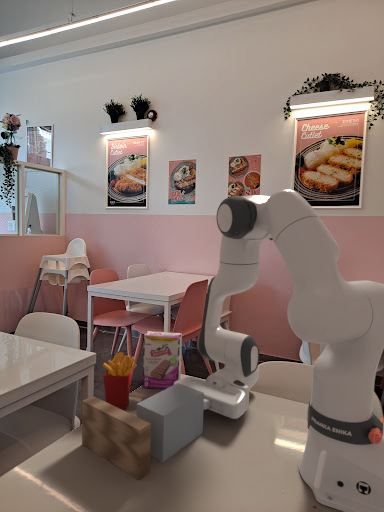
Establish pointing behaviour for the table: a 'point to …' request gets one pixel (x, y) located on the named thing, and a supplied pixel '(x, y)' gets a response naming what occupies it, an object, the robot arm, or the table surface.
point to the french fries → (118, 380)
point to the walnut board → (116, 436)
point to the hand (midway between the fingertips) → (189, 407)
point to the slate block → (172, 419)
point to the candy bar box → (161, 359)
